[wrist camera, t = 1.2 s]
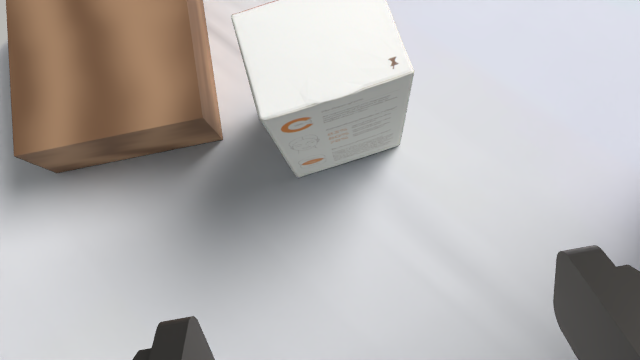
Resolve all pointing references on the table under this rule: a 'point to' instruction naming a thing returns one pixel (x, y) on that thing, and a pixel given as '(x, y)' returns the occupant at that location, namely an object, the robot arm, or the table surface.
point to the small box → (326, 78)
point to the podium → (108, 80)
